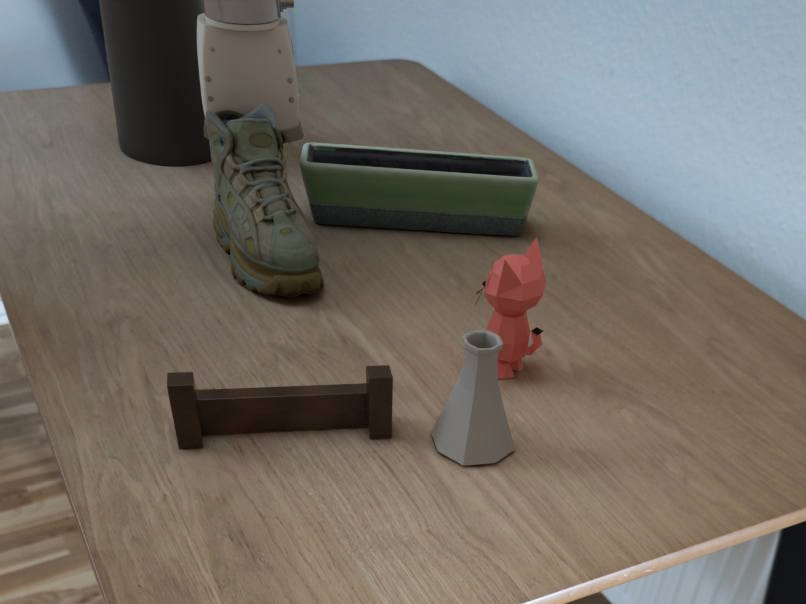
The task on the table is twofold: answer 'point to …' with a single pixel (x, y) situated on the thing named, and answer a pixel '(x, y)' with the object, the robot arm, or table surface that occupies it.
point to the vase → (156, 79)
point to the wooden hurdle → (280, 407)
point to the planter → (417, 189)
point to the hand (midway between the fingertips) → (260, 193)
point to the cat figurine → (515, 306)
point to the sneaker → (259, 206)
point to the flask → (475, 407)
